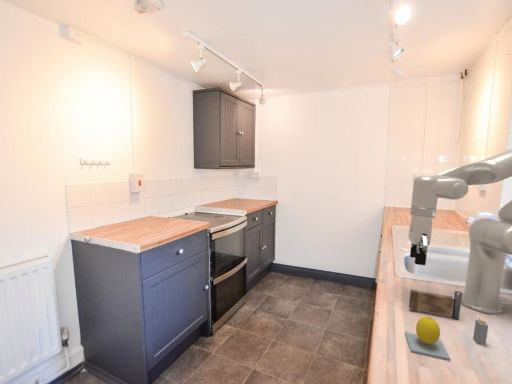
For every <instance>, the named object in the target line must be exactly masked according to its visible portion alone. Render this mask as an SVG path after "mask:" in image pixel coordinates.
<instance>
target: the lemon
mask: <svg viewBox="0 0 512 384" xmlns="http://www.w3.org/2000/svg"><path fill="white" fill-rule="evenodd" d="M415 332H416V333H415V334H416V335H418V337H419V339H420V340H421V341H423V342H424V343H425V344H434V343H436V342H437V341H438V339H440V336H441V328H440V325H439V324H438V322H437V321H436V319H434V318H432V316H429V315H428V316H423V317H420V318H419V319H418V321H417V322H416V326H415Z"/></svg>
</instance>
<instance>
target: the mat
mask: <svg viewBox="0 0 512 384" xmlns="http://www.w3.org/2000/svg"><path fill="white" fill-rule="evenodd" d="M404 336H405V338H406V342H407V345H408V348H409V351H410V353H413V354H417V355H418V354H419V355H424V356H427V357H432V358H436V359H440V360H444V361H449V362H450V361H451V357H450V355H449V353H448V351H447V349H446V347H445V346H444V343H443V342H442V340H441V339H440V338H439V339H438V341H437V342H436V343H434V344H425V343H424V342H423V341H421V340H420V339H419V337H418V335H417V333H410V332H406V331H405V332H404Z"/></svg>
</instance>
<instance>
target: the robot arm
mask: <svg viewBox="0 0 512 384" xmlns="http://www.w3.org/2000/svg"><path fill="white" fill-rule="evenodd" d="M511 177H512V148H510V149H508V150H505V151H503V152H500V153H498V154H495V155H493V156H490V157H488V158H485V159H483V160H479V161H475V162H472V163H468V164H464V165H461V166H457V167H453V168H450V169H447V170H444V171H441V172H439V173H437V174H435V175H433V176H416V177H415V178H414V179H413V185H412V194H411V195H412V196H411V204H410V213H409V215H410V216H411V219H410V224H409V229H408V236H407V237H408V239H409V241H410V242H411V246H410V253H409V257H410V258H414V265H419V266H426V265H427V264H426V263H427V255H428V248H429V246H430V244H431V239H432V230H433V228H432V227H433V219H436V214H437V206H438V205H437V204H438V199H440V198H441V199H446V200H450V201H453V200H454V201H455V200H460V199H462V198H464V197H465V196H466V195H467V194H468V193H469V186H476V185H478V186H479V185H482V186H483V185H490V184H495V183H498V182H501V181H504V180H506V179H509V178H511ZM497 216H498V219H499V220H500V221H499V220H497V219H492V218H479V219H477V220H475V221H473V222H472V223H471V225H470V228H469V230H468V231H469V232H468V233H469V235H468V236H469V256H468V262H467V263H468V264H467V270H466V278H465V284H464V292H463V293H462V300H461V305H464V306H466V307H467V308H469V309H472V310H474V311H477V312H481V313H484V314H491V315H499V314H502V313H503V312H504V306H507V307H512V300H508V299H507V298H506V297H500V292H501V291H500V290H501V286H502V281H503V280H502V279H503V273H504V266H505V256H504V254H506V255H509V256H512V199H511V200H510V201H508V202H507V203H506V204H504V205H503V206H502V207H501V208H500V209H499V211H498V214H497Z"/></svg>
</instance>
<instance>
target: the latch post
mask: <svg viewBox="0 0 512 384" xmlns="http://www.w3.org/2000/svg"><path fill="white" fill-rule="evenodd" d="M488 330H489V325H488V323H487V322H486V320H485V319H484V318H478V319H475V323H474V330H473V336H472V337H473V338H472V340H473V341H474V342H475V344H476V345H480V346H486V343H487V336H488Z"/></svg>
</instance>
